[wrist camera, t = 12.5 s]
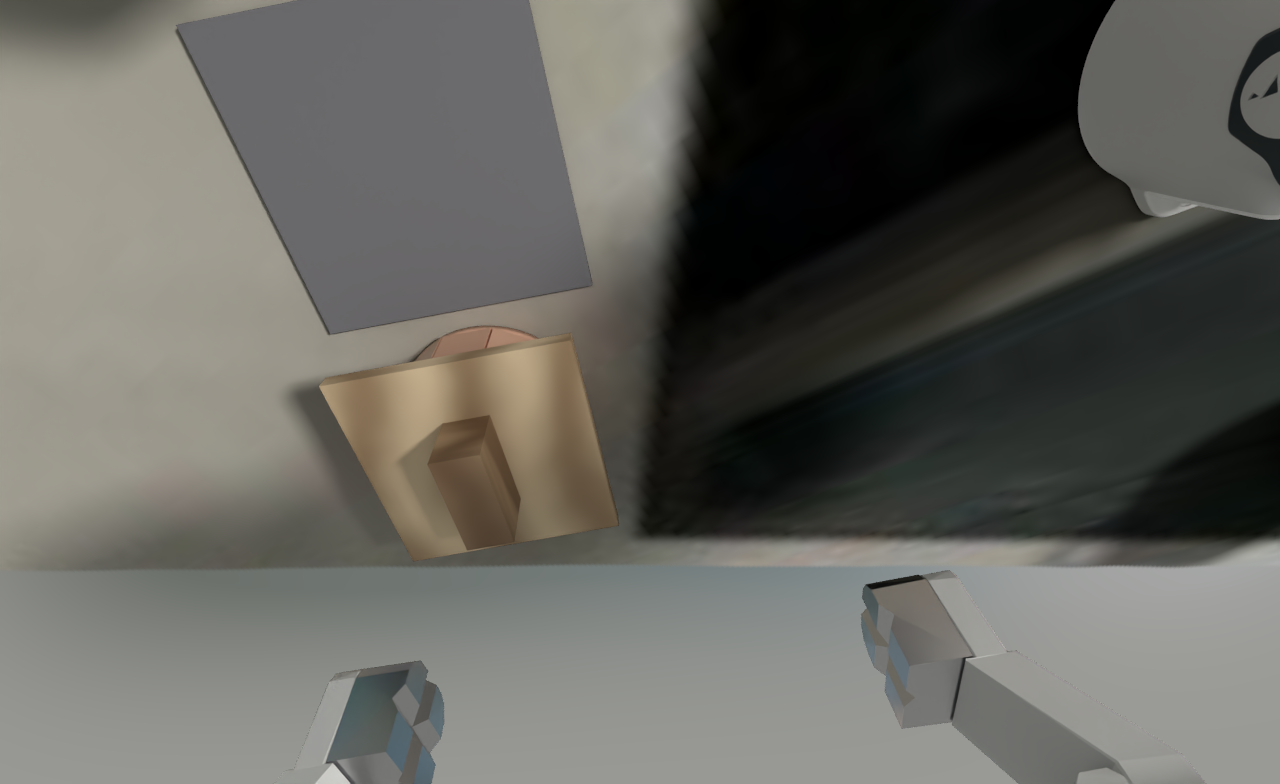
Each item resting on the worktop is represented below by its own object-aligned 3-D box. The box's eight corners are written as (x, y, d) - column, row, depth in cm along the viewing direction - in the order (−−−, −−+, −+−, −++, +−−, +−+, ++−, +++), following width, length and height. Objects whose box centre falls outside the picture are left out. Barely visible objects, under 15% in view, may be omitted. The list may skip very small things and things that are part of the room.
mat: (518, -44, 30) (518, -45, 30) (592, 283, 40) (592, 285, 40) (180, 25, 31) (175, 25, 31) (332, 331, 40) (330, 334, 40)
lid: (571, 332, 35) (568, 375, 31) (618, 515, 43) (621, 569, 39) (325, 377, 36) (289, 425, 31) (416, 550, 44) (398, 607, 39)
